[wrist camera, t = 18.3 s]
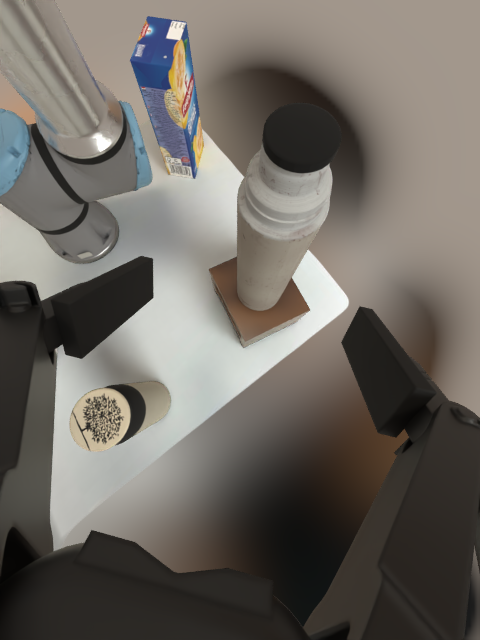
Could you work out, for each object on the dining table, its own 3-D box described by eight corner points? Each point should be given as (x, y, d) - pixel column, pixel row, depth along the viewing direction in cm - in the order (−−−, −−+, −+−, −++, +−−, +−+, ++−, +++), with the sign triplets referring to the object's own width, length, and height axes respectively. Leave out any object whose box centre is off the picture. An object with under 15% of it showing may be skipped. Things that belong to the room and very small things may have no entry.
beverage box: (203, 145, 61) (186, 21, 39) (195, 179, 58) (171, 66, 37) (178, 141, 61) (147, 15, 40) (168, 174, 59) (130, 60, 37)
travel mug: (163, 374, 47) (120, 375, 30) (176, 412, 46) (139, 436, 28) (126, 391, 47) (59, 402, 29) (138, 429, 45) (76, 466, 27)
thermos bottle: (228, 282, 42) (213, 110, 14) (265, 261, 43) (317, 63, 15) (252, 319, 40) (284, 204, 13) (289, 296, 41) (394, 146, 14)
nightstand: (213, 288, 52) (208, 269, 42) (264, 265, 53) (271, 241, 44) (243, 348, 49) (245, 341, 39) (296, 322, 50) (310, 309, 41)
